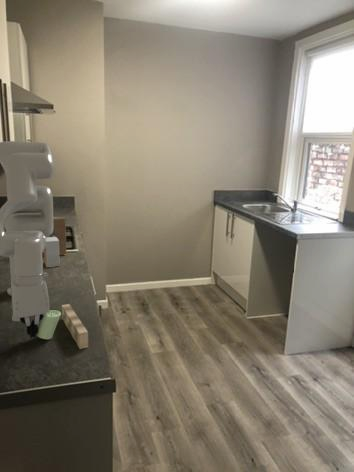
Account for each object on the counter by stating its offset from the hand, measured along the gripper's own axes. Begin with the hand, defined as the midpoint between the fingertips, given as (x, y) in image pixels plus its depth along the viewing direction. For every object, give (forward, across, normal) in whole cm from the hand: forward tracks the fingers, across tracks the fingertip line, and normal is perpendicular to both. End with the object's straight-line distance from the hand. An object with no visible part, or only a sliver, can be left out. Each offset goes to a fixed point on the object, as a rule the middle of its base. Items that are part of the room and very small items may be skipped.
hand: (32, 335), depth 116 cm
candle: (+1, -3, 0) cm, 3 cm away
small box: (+1, -20, -72) cm, 74 cm away
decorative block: (+1, -25, -88) cm, 91 cm away
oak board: (+2, -13, 0) cm, 13 cm away
